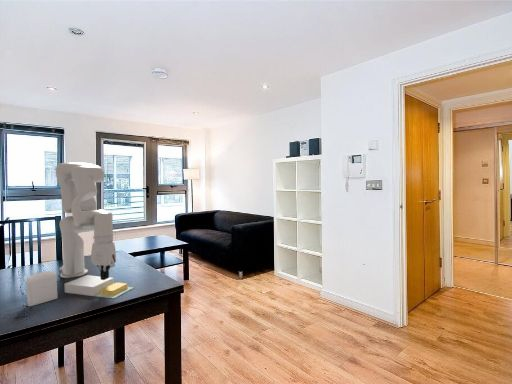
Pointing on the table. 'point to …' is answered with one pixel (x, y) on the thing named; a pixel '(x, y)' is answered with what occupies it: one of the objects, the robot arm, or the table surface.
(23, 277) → the table surface
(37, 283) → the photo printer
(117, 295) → the mat
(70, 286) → the plate
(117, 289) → the tile
